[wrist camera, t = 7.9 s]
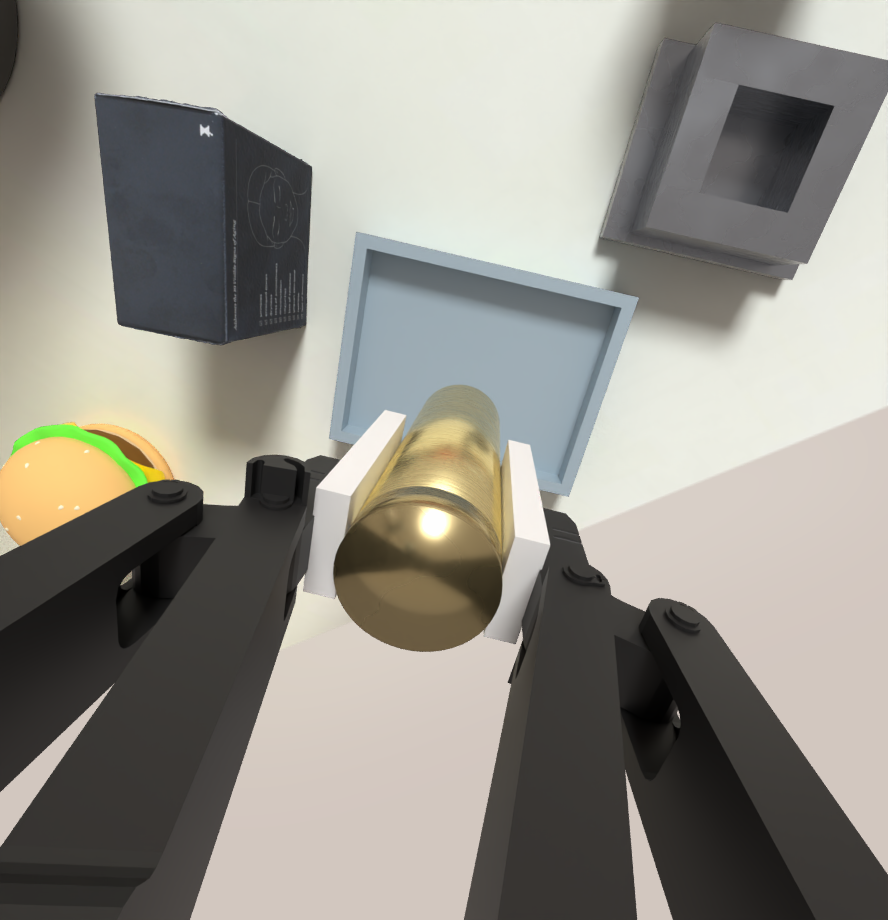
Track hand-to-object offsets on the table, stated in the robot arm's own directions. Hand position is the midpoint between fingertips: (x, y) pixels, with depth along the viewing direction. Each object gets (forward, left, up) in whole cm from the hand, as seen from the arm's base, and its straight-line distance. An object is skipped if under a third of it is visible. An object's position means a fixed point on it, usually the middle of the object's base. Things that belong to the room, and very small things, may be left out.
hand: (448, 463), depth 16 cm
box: (-16, +5, -19) cm, 26 cm away
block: (+12, +15, -19) cm, 27 cm away
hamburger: (-27, -16, -19) cm, 37 cm away
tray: (0, 0, -19) cm, 19 cm away
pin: (0, 0, -5) cm, 5 cm away
